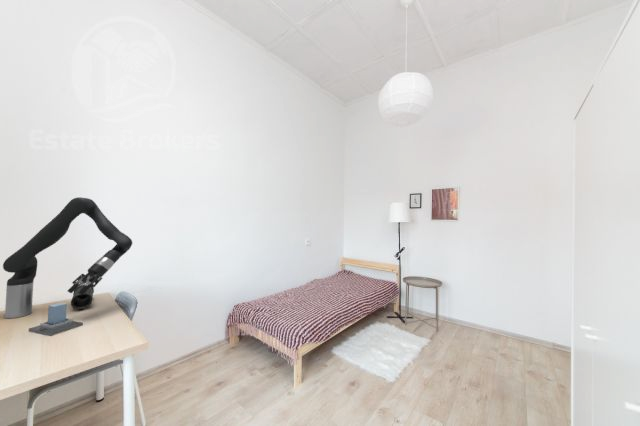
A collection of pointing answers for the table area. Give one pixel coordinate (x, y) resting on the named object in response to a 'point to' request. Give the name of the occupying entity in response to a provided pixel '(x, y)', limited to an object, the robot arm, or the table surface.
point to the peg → (57, 313)
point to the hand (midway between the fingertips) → (74, 293)
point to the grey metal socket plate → (55, 327)
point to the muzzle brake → (82, 298)
